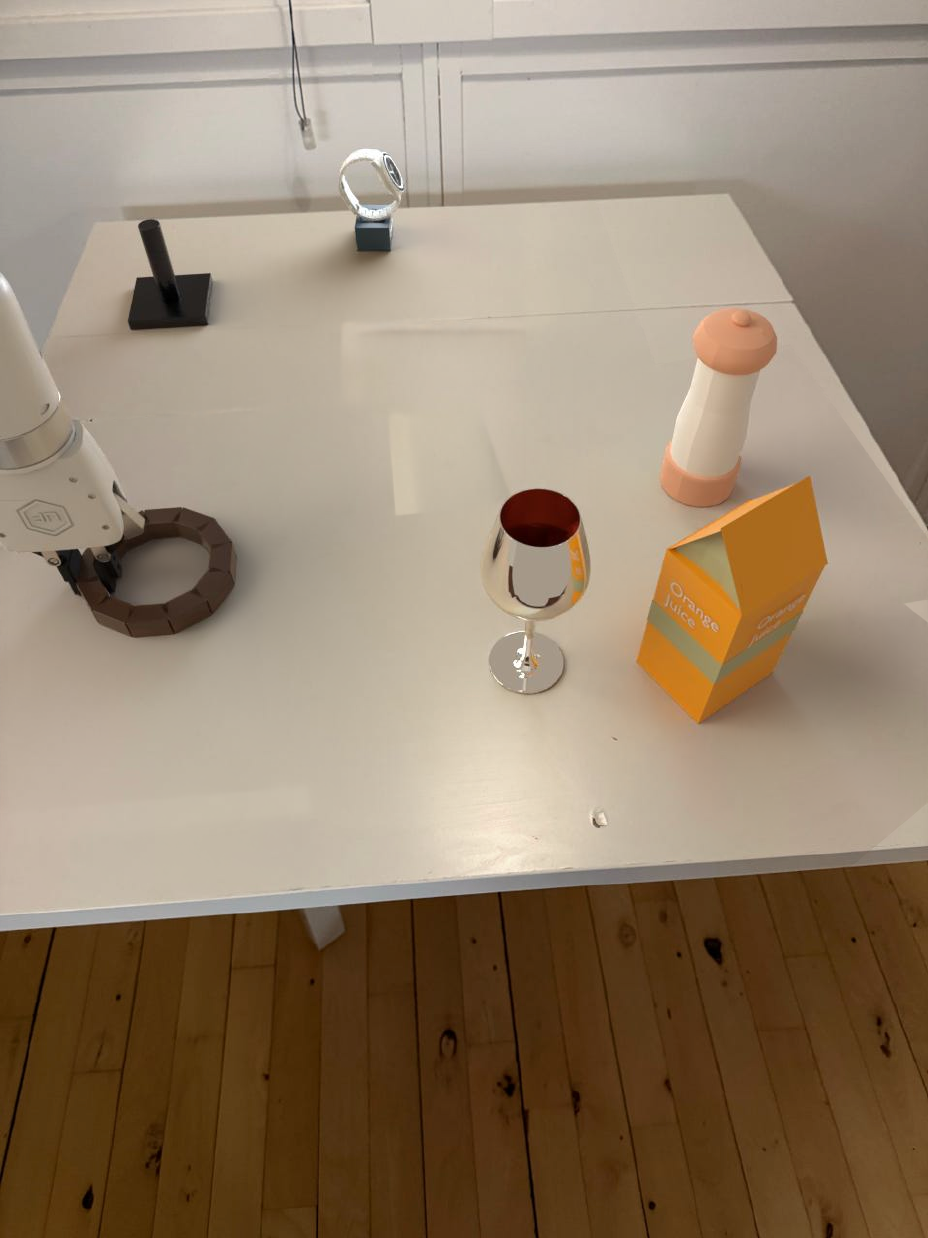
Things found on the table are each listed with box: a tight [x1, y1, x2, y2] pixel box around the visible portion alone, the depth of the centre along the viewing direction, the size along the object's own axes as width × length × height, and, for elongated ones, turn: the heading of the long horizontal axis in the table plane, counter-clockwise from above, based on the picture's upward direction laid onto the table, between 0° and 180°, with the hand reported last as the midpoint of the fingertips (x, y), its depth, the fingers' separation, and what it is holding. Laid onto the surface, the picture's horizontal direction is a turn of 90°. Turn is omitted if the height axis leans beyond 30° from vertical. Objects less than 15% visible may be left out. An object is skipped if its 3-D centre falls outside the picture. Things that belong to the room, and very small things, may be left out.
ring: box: [76, 506, 238, 638], centre depth 82 cm, size 14×14×2 cm
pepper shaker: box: [659, 307, 778, 508], centre depth 82 cm, size 7×7×19 cm
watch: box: [338, 148, 405, 252], centre depth 113 cm, size 6×8×11 cm
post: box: [127, 218, 213, 331], centre depth 104 cm, size 9×9×10 cm
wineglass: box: [479, 487, 592, 695], centre depth 70 cm, size 8×8×18 cm
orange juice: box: [636, 475, 828, 725], centre depth 68 cm, size 8×9×20 cm
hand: (97, 580), depth 82 cm, fingers closed on ring, 2 cm apart
